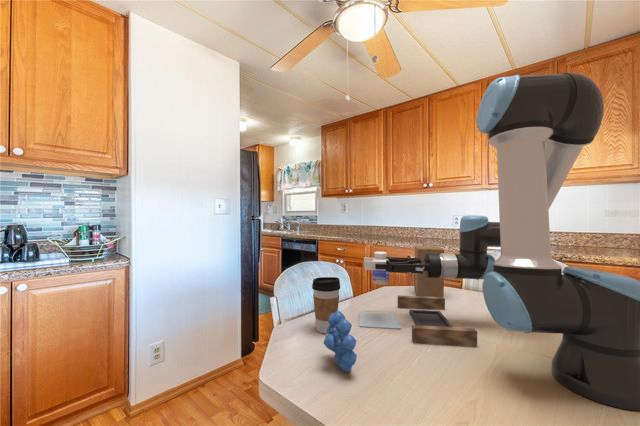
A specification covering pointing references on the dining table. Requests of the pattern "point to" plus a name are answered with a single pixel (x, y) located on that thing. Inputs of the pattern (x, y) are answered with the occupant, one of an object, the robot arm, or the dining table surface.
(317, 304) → the coffee cup
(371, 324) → the pad
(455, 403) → the dining table surface
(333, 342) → the grapes
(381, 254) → the pill bottle
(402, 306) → the walnut lane walls
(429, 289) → the wooden block
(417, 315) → the tray
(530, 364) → the dining table surface
